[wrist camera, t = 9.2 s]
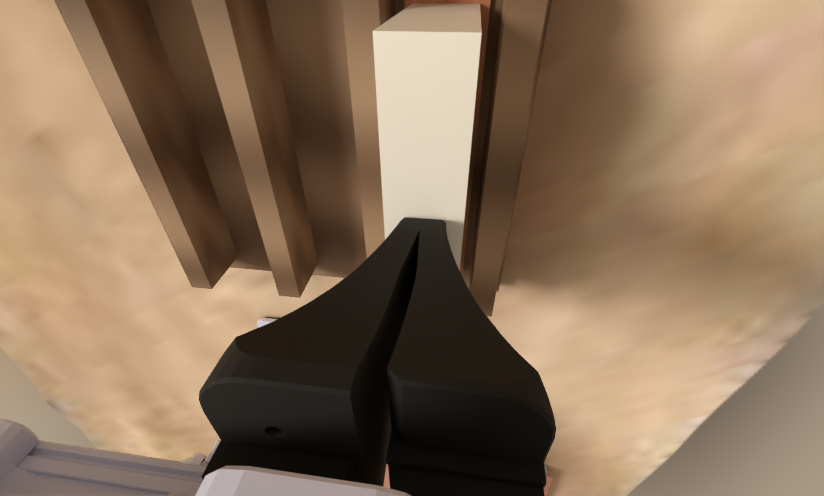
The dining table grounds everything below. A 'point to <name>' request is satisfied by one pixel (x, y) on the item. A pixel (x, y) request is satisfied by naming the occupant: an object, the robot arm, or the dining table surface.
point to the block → (427, 112)
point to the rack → (293, 127)
